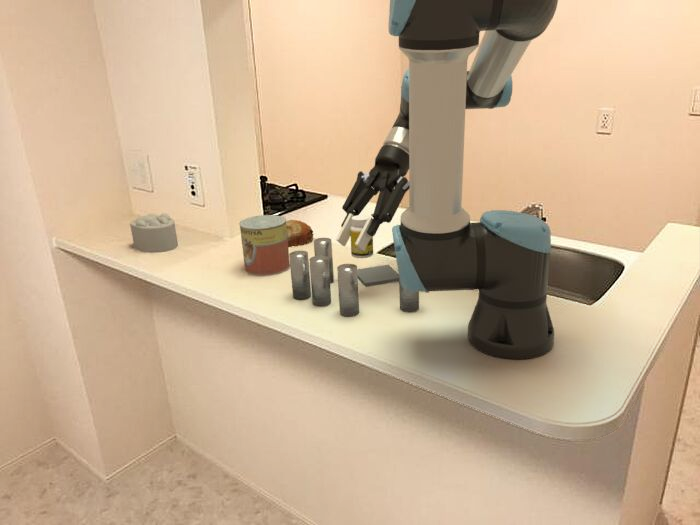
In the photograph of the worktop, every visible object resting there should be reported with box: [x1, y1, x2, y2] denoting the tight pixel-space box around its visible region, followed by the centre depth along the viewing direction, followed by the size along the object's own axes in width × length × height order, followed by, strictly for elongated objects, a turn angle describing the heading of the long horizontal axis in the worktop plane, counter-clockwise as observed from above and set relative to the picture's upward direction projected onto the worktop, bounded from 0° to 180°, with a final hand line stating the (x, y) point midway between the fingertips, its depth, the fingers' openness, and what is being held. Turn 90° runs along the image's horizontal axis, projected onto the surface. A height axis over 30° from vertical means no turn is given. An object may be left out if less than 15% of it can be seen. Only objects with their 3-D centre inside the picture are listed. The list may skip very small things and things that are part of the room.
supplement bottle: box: [350, 214, 374, 259], centre depth 127 cm, size 5×5×8 cm
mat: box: [357, 264, 399, 288], centre depth 140 cm, size 9×9×1 cm
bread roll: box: [286, 219, 315, 248], centre depth 167 cm, size 10×10×8 cm
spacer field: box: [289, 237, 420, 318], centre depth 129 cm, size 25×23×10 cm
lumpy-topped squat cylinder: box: [129, 213, 179, 254], centre depth 168 cm, size 10×13×9 cm
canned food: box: [238, 214, 291, 277], centre depth 147 cm, size 11×11×12 cm
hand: (349, 244), depth 125 cm, fingers closed on supplement bottle, 5 cm apart
